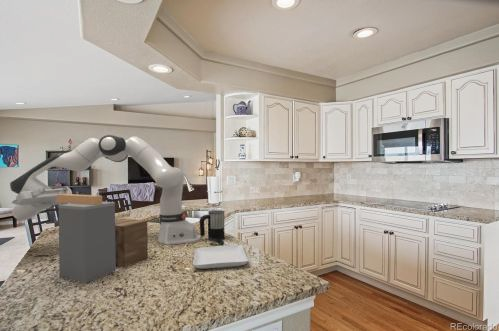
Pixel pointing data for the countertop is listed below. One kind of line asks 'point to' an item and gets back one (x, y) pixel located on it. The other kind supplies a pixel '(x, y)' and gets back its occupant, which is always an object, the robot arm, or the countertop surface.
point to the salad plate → (219, 257)
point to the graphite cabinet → (86, 241)
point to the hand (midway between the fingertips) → (55, 188)
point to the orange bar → (79, 199)
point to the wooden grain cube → (130, 241)
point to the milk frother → (214, 226)
